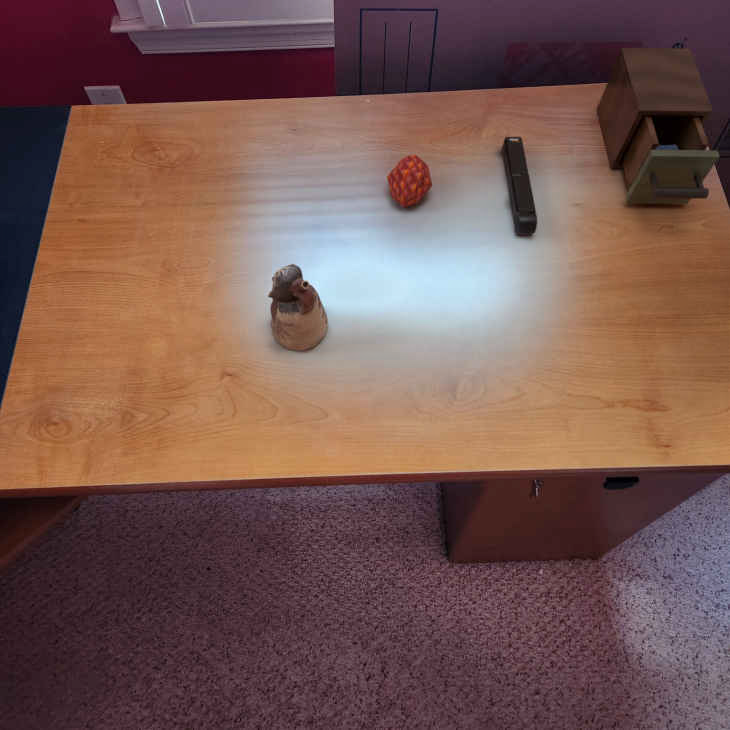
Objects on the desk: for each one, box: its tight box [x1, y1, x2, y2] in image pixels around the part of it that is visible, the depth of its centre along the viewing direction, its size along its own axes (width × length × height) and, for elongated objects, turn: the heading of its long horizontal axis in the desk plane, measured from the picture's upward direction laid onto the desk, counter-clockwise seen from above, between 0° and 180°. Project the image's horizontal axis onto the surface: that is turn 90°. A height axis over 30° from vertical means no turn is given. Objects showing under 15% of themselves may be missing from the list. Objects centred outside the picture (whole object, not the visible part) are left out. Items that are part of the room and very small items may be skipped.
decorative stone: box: [386, 154, 433, 208], centre depth 84 cm, size 6×7×8 cm
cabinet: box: [596, 47, 714, 171], centre depth 87 cm, size 14×10×11 cm
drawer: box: [621, 115, 720, 205], centre depth 82 cm, size 16×9×9 cm, turn 178°
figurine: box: [267, 263, 329, 351], centre depth 70 cm, size 7×7×12 cm
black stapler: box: [501, 136, 538, 235], centre depth 85 cm, size 18×3×3 cm, turn 0°
